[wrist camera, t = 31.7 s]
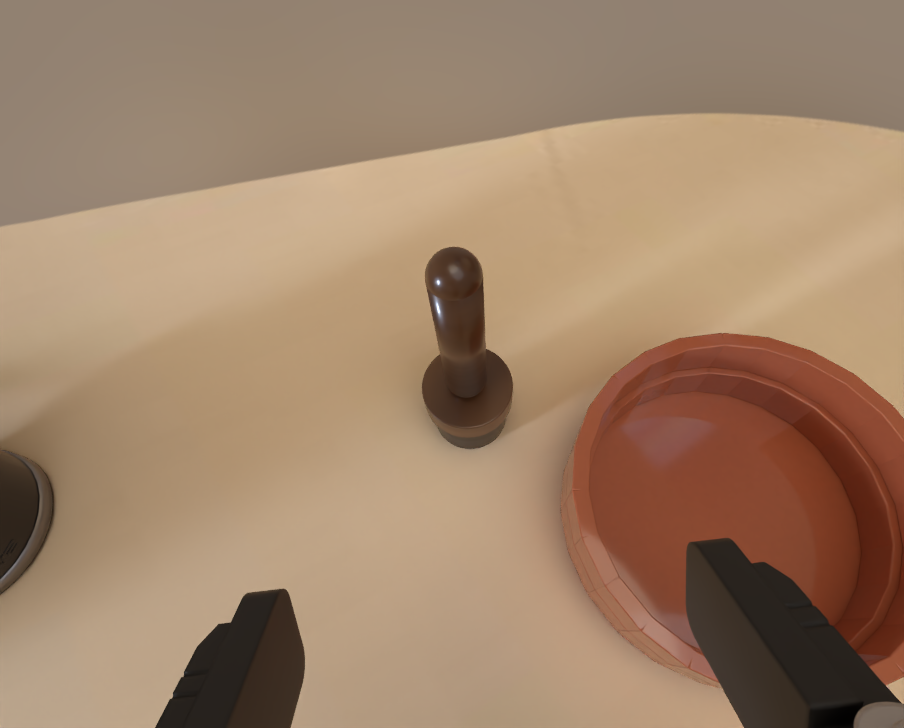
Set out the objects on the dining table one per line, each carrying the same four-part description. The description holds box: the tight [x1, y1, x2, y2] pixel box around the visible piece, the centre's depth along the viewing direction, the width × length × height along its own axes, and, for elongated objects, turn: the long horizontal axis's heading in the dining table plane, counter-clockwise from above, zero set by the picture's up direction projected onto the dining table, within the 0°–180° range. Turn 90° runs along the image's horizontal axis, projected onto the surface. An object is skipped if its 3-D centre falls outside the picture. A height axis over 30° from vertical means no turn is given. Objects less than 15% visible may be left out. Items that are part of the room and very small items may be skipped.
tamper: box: [422, 247, 513, 449], centre depth 27 cm, size 5×5×16 cm
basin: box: [561, 333, 904, 689], centre depth 28 cm, size 17×17×6 cm
